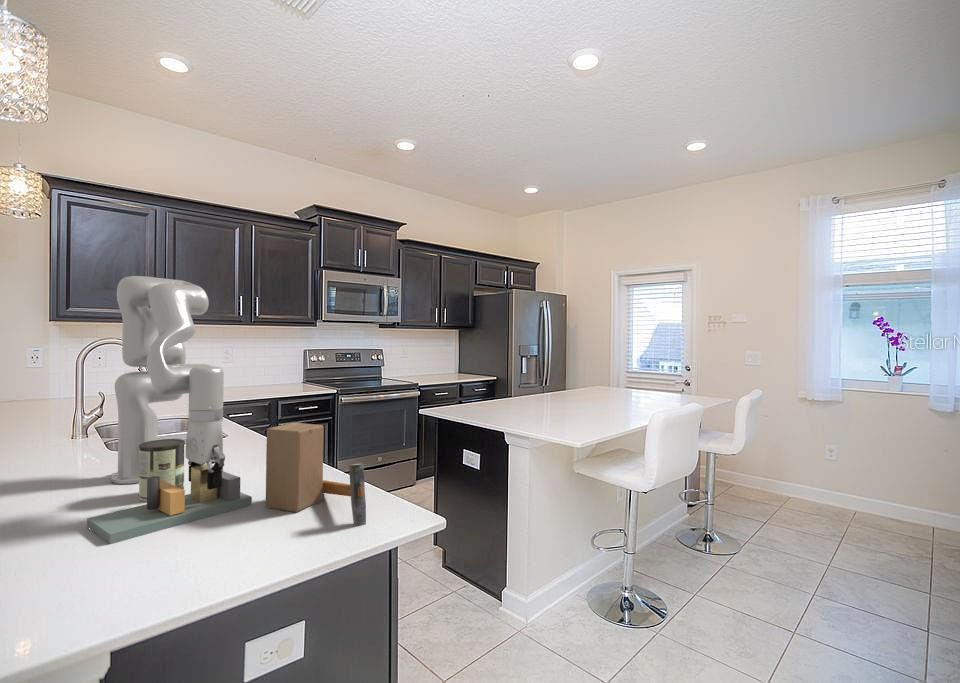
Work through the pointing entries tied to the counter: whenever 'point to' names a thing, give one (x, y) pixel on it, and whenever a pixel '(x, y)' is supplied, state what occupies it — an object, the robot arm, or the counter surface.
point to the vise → (149, 521)
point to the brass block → (201, 485)
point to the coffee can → (161, 463)
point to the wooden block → (294, 466)
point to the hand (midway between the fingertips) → (204, 484)
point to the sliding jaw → (164, 496)
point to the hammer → (351, 492)
